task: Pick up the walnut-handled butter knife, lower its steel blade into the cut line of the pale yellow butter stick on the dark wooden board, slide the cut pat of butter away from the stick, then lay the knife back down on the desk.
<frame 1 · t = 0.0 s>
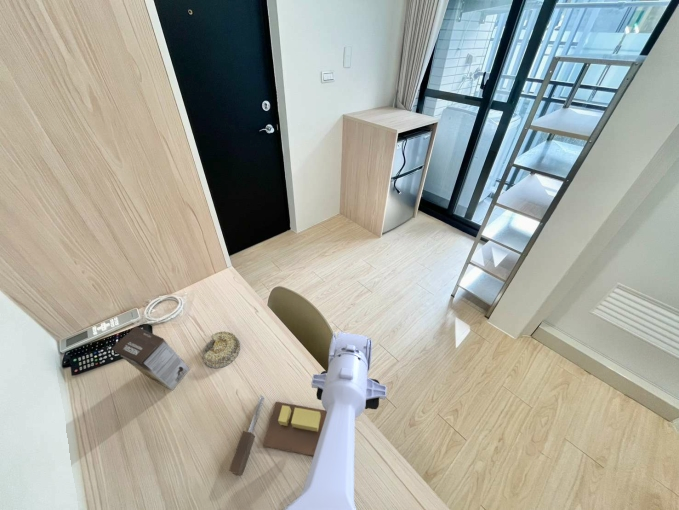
hand: (347, 400, 59), 9 cm above the table, tool pointing down, fingers open, 7 cm apart
knife: (251, 435, 61), on the table
ammonite fossil: (222, 351, 76), on the table
butter board: (297, 428, 62), on the table
coffee box: (169, 373, 71), on the table
butter: (306, 421, 62), point 1 cm above the table, touching butter board
butter pat: (285, 417, 63), point 1 cm above the table, touching butter board
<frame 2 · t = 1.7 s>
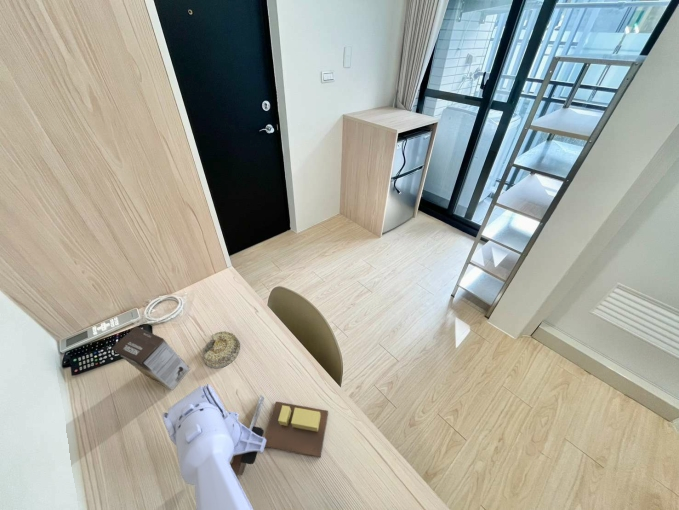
hand: (237, 447, 54), 6 cm above the table, tool pointing down, fingers open, 7 cm apart
nothing on the table moved.
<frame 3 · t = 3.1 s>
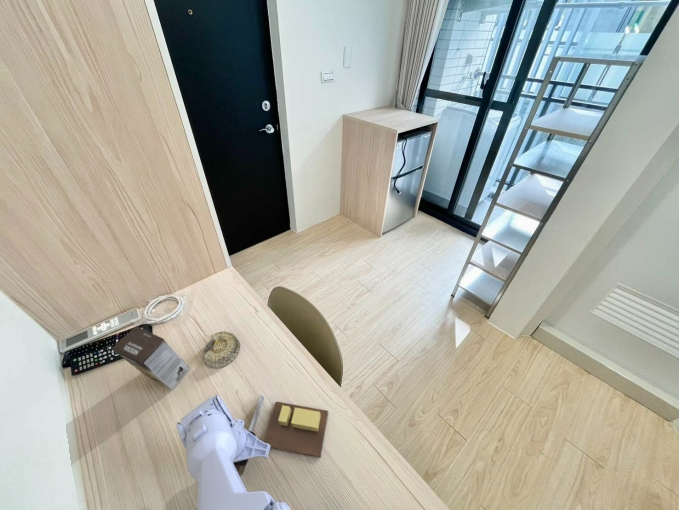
hand: (242, 452, 58), 2 cm above the table, tool pointing down, fingers closed on knife, 2 cm apart
knife: (250, 435, 61), on the table, touching gripper
everything else where it was.
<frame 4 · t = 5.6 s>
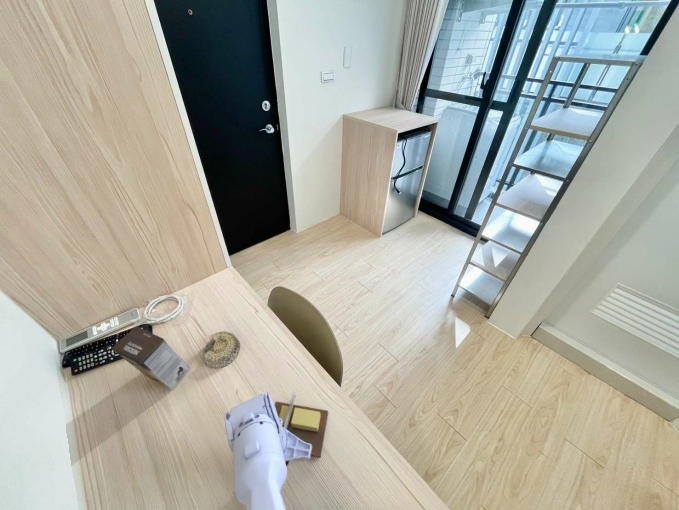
hand: (278, 453, 54), 6 cm above the table, tool pointing down, fingers closed on knife
knife: (284, 435, 58), point 4 cm above the table, touching gripper
everything else where it was.
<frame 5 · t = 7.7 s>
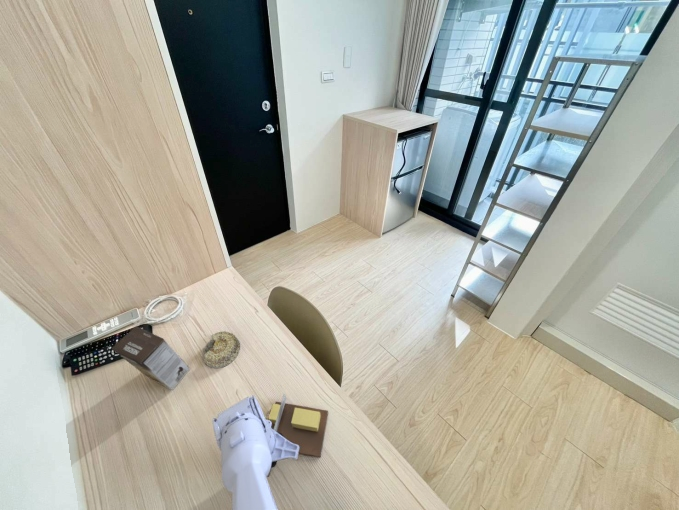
hand: (268, 453, 56), 3 cm above the table, tool pointing down, fingers closed on knife, 2 cm apart
knife: (275, 436, 60), point 1 cm above the table, touching butter pat, gripper
butter pat: (276, 415, 63), point 1 cm above the table, touching butter board, knife
everything else where it was.
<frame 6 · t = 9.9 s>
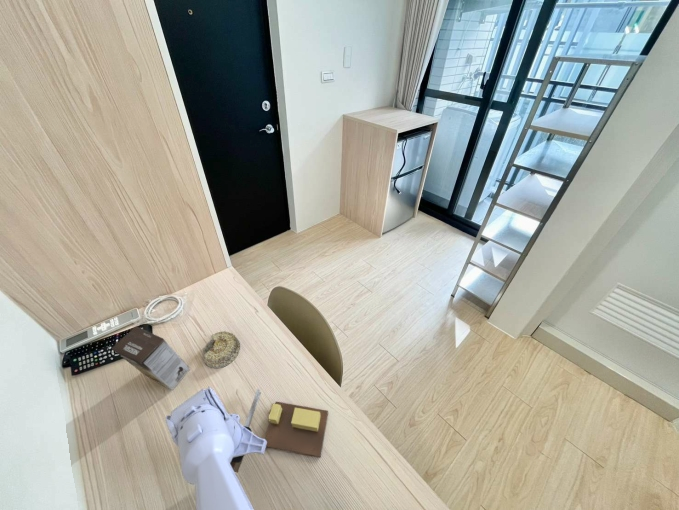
hand: (238, 449, 55), 5 cm above the table, tool pointing down, fingers closed on knife
knife: (247, 431, 59), point 4 cm above the table, touching gripper
butter pat: (276, 415, 63), point 1 cm above the table, touching butter board
everything else where it was.
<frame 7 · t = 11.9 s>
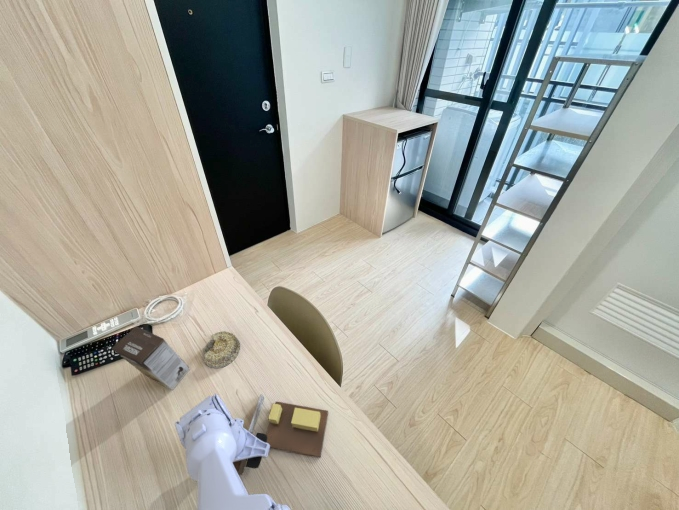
hand: (242, 452, 57), 2 cm above the table, tool pointing down, fingers open, 7 cm apart
knife: (251, 435, 61), on the table
everything else where it was.
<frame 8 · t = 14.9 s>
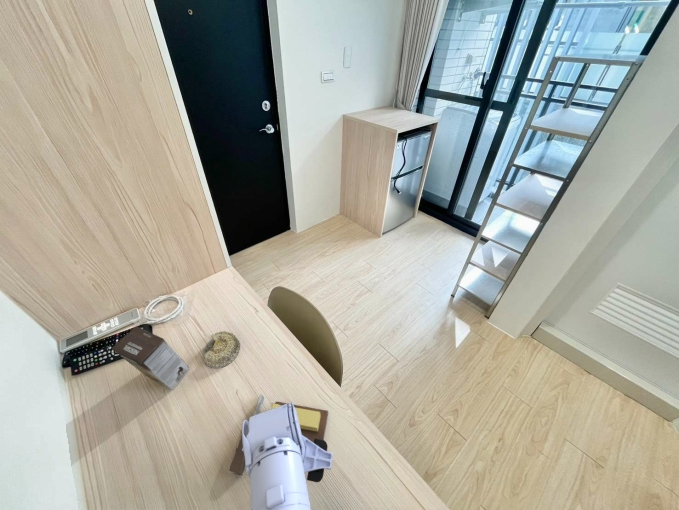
hand: (293, 459, 50), 10 cm above the table, tool pointing down, fingers open, 7 cm apart
nothing on the table moved.
at the end: butter pat 0.6 cm from the target spot, point 1.0 cm above the table; butter moved 0.0 cm from its start; the gripper is holding nothing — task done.
